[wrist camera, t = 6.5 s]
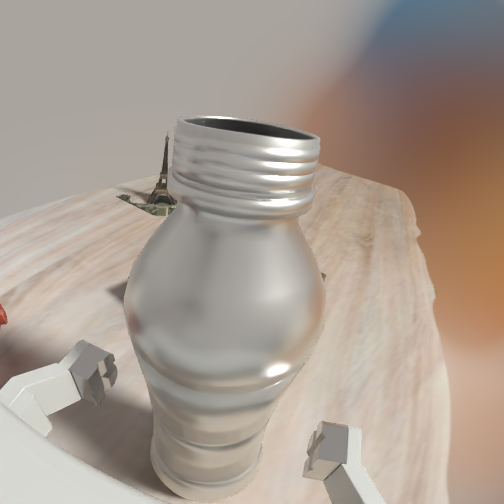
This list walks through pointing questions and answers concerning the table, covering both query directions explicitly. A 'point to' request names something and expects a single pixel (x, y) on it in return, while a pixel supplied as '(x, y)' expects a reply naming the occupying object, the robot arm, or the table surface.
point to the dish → (2, 316)
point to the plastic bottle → (225, 299)
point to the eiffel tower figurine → (158, 193)
